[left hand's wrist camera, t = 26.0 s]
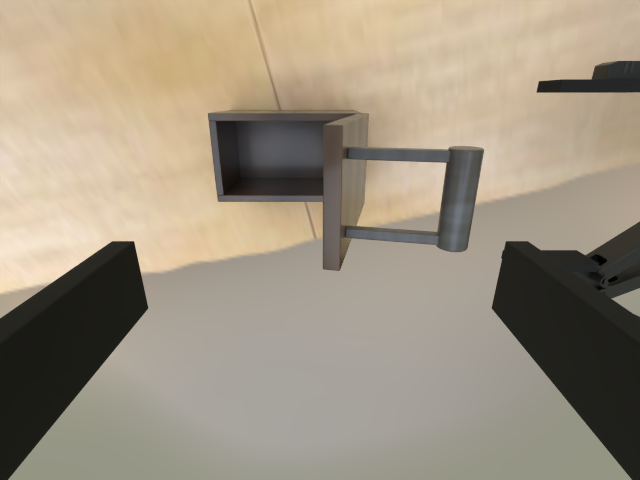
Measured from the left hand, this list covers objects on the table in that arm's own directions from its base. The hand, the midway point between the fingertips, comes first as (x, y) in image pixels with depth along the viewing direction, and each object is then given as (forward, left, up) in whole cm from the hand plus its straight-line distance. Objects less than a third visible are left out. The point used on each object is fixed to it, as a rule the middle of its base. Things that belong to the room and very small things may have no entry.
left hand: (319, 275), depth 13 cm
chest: (-3, -1, -36) cm, 36 cm away
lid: (+2, +1, -18) cm, 18 cm away
